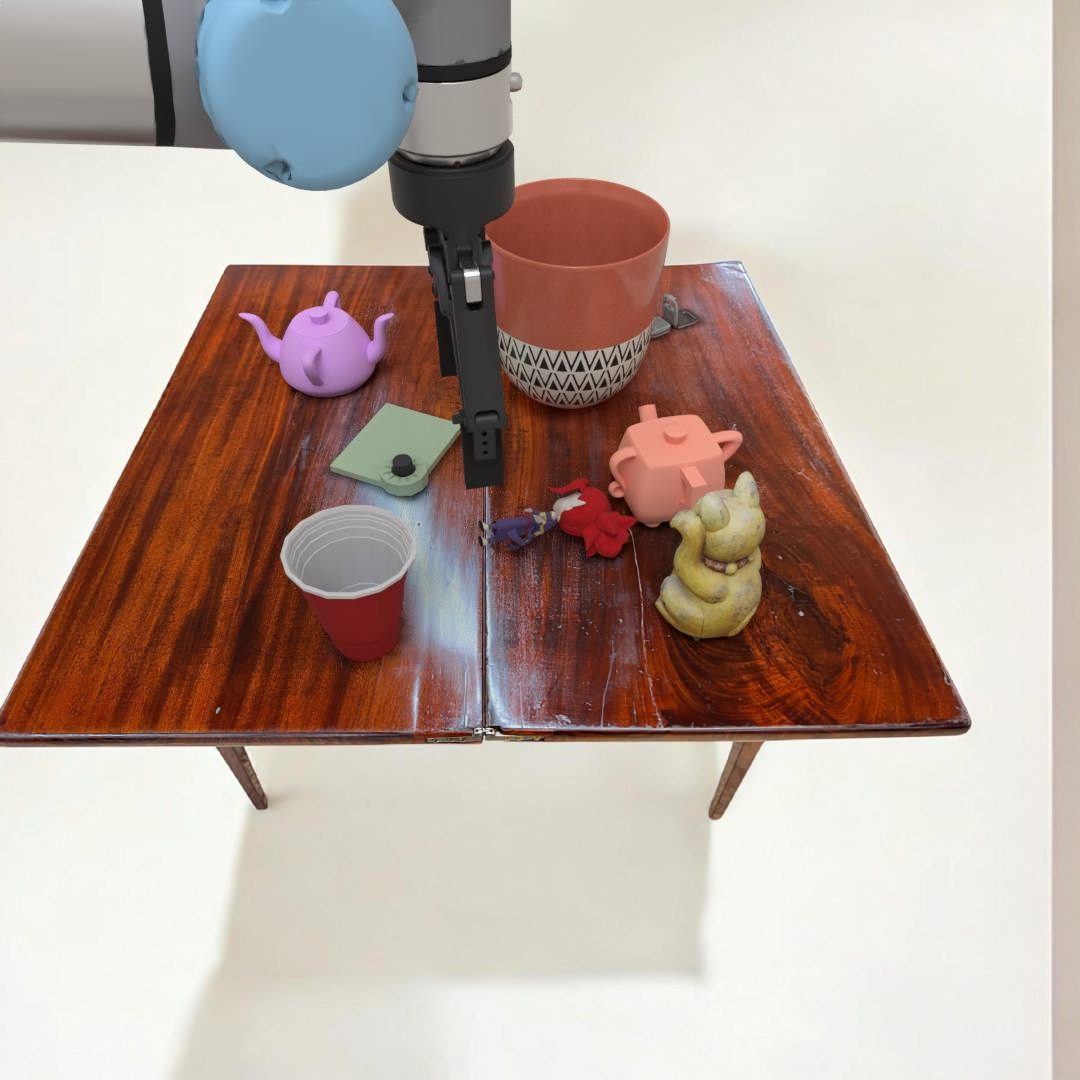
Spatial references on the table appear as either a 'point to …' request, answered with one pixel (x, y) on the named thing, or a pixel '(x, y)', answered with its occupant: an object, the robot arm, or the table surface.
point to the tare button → (402, 465)
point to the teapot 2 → (669, 464)
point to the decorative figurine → (716, 563)
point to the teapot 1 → (324, 349)
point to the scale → (397, 449)
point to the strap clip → (671, 317)
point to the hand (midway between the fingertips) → (469, 424)
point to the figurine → (569, 522)
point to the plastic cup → (353, 575)
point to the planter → (576, 287)
